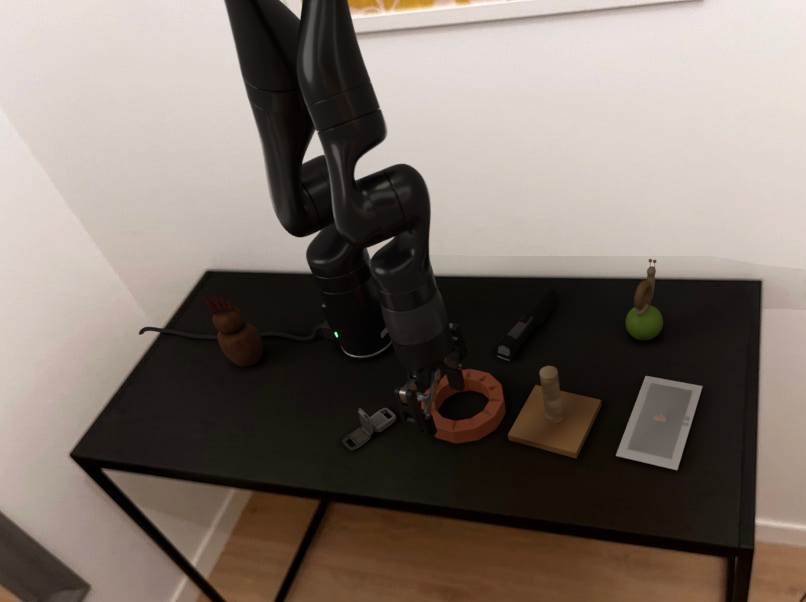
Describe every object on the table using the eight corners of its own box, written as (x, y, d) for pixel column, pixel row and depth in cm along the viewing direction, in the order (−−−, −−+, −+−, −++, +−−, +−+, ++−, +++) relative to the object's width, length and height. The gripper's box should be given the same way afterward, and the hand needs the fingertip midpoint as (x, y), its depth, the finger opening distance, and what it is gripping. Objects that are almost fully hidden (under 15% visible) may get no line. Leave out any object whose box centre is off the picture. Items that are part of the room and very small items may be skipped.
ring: (410, 430, 104) (406, 419, 102) (448, 374, 111) (444, 362, 109) (483, 451, 99) (480, 439, 97) (518, 391, 106) (515, 379, 104)
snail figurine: (670, 324, 110) (671, 261, 101) (655, 351, 106) (655, 288, 98) (636, 316, 112) (635, 255, 104) (620, 342, 109) (618, 281, 101)
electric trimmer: (564, 304, 118) (562, 289, 116) (513, 362, 110) (510, 347, 108) (545, 298, 120) (543, 283, 118) (493, 355, 112) (490, 340, 110)
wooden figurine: (225, 368, 123) (186, 302, 113) (243, 345, 126) (207, 279, 116) (256, 373, 120) (220, 306, 110) (274, 350, 124) (240, 283, 114)
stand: (508, 440, 99) (498, 390, 92) (536, 390, 105) (528, 339, 98) (576, 458, 95) (571, 408, 88) (601, 405, 101) (598, 353, 94)
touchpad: (615, 460, 93) (615, 450, 92) (645, 381, 102) (645, 370, 101) (677, 475, 90) (677, 465, 88) (702, 391, 99) (703, 380, 97)
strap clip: (387, 409, 108) (380, 390, 105) (398, 419, 106) (391, 400, 103) (341, 442, 105) (332, 423, 102) (352, 452, 103) (343, 434, 100)
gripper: (418, 282, 93) (444, 370, 104) (361, 354, 85) (395, 442, 95) (469, 290, 90) (490, 380, 100) (415, 366, 81) (444, 455, 92)
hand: (444, 410), depth 98 cm, fingers open, 8 cm apart
